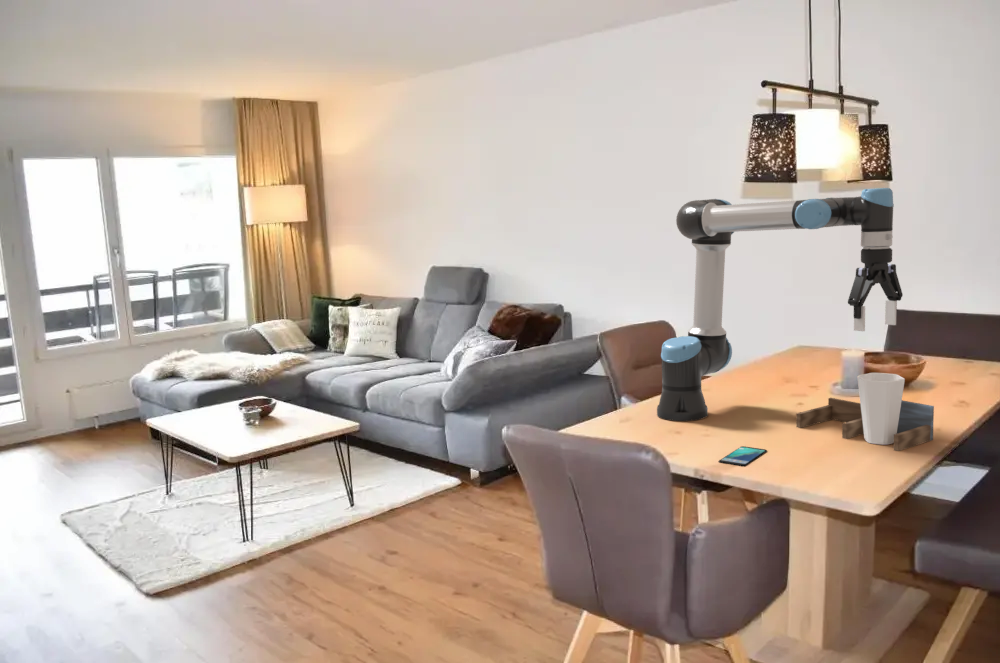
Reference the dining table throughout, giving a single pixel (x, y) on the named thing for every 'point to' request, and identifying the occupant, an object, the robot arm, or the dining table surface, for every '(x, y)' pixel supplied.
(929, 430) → the wooden divider rack
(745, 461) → the smartphone
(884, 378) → the cup
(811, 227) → the robot arm
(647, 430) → the dining table surface
